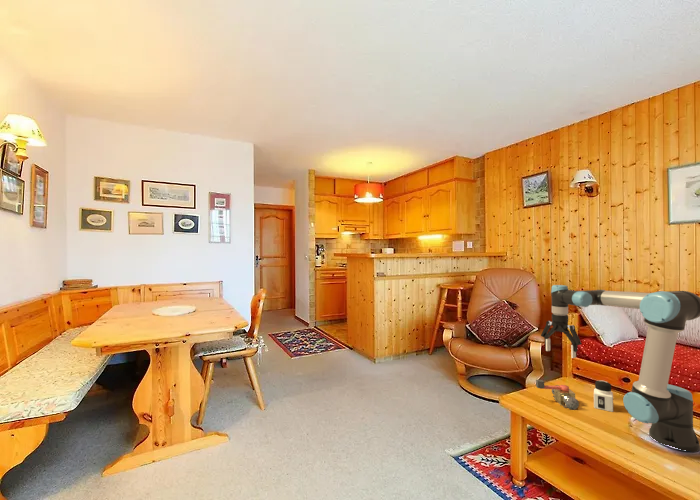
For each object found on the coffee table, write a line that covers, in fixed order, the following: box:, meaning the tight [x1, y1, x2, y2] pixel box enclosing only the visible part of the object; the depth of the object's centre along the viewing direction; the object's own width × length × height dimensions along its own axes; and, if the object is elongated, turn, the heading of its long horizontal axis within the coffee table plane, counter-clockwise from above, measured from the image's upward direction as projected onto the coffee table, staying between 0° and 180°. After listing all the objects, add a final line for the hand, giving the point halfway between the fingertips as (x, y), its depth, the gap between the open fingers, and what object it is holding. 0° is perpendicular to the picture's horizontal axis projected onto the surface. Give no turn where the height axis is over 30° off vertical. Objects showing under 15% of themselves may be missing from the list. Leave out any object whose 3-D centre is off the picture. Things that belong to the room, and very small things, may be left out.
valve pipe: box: [551, 384, 580, 411], centre depth 175 cm, size 16×7×6 cm, turn 171°
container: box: [593, 380, 614, 413], centre depth 170 cm, size 8×8×13 cm
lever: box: [535, 379, 570, 391], centre depth 176 cm, size 16×4×4 cm, turn 81°
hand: (560, 354), depth 176 cm, fingers open, 13 cm apart
